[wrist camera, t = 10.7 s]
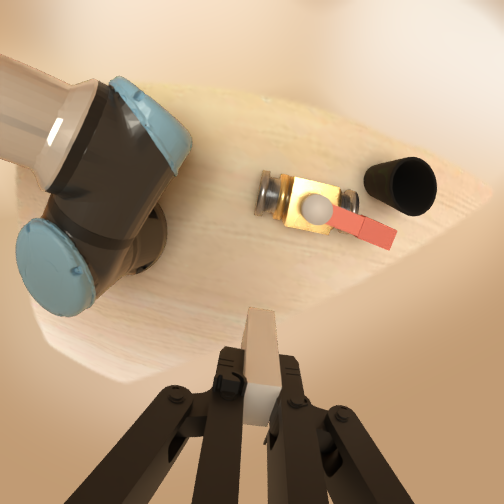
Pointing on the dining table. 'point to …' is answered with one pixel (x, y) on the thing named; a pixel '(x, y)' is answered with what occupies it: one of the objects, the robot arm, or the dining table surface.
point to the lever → (346, 221)
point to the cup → (403, 185)
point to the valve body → (299, 200)
